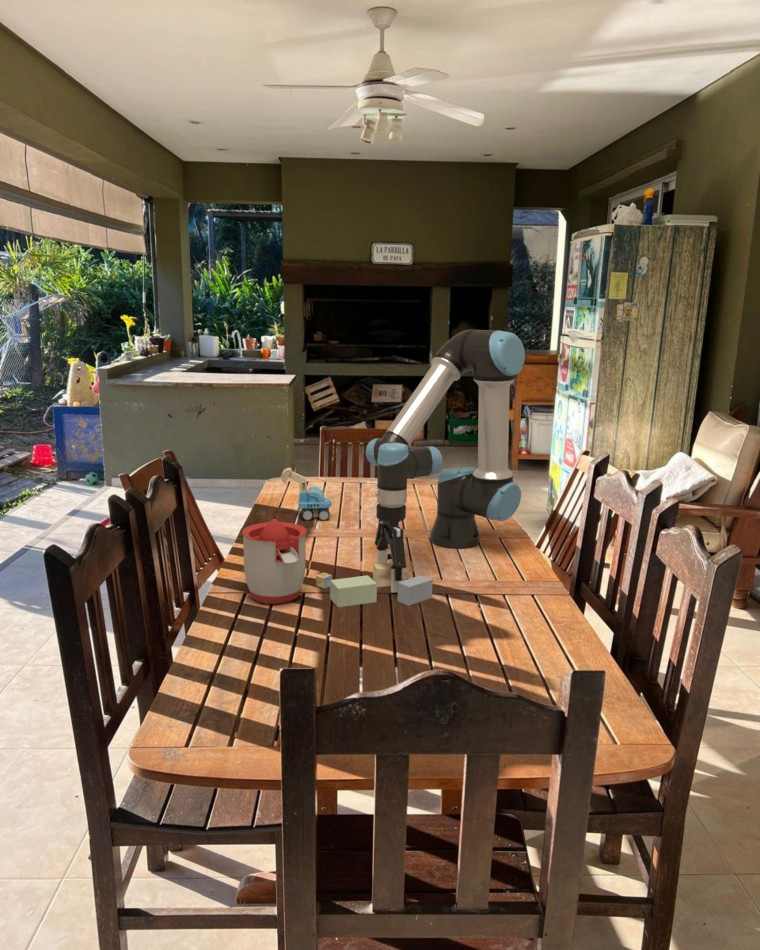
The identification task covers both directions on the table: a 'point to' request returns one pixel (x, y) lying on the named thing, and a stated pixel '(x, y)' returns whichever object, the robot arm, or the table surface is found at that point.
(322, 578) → the alphabet block
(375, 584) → the sage brick
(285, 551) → the citrus juicer
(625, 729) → the table surface
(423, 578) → the slate brick
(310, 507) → the toy excavator
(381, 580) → the maple brick
